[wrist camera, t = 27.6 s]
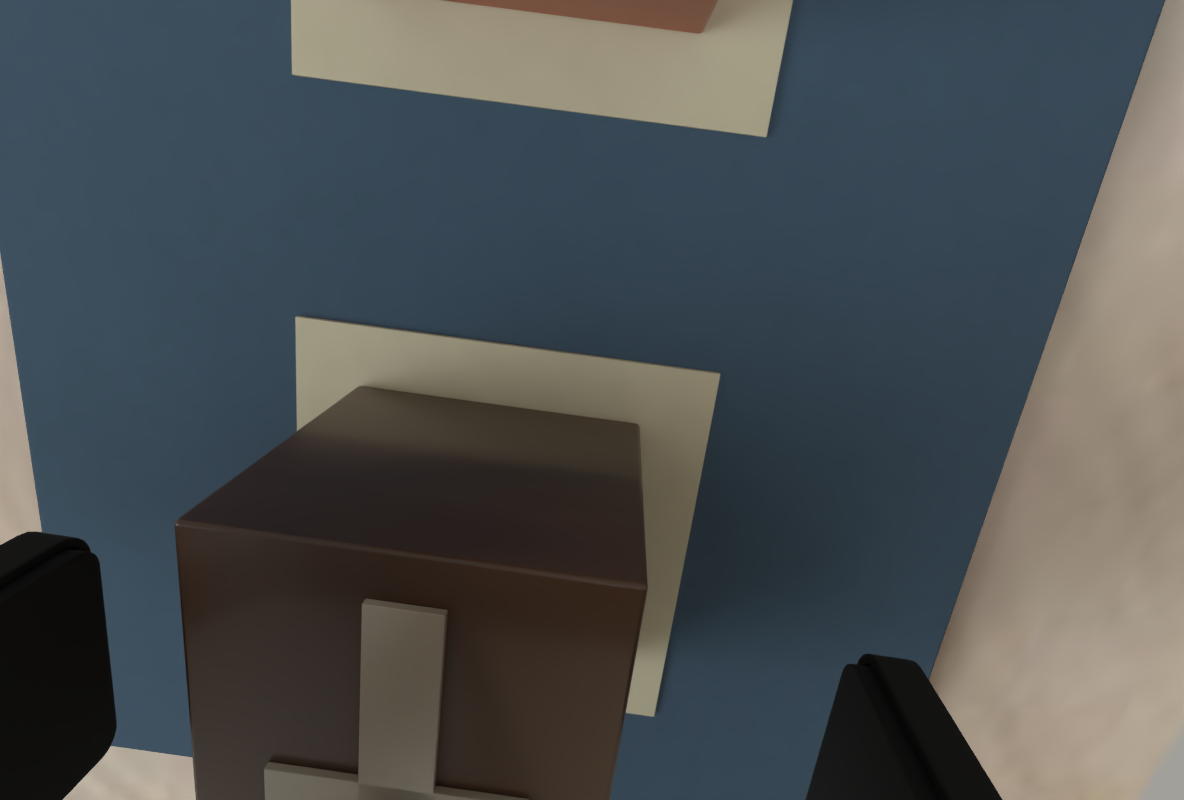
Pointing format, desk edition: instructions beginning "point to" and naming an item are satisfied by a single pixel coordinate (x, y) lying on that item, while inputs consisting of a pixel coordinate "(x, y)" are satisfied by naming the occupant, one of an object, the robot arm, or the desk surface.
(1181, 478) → the desk surface
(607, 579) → the wooden letter block
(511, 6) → the rust brown block
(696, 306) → the mat
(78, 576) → the robot arm
